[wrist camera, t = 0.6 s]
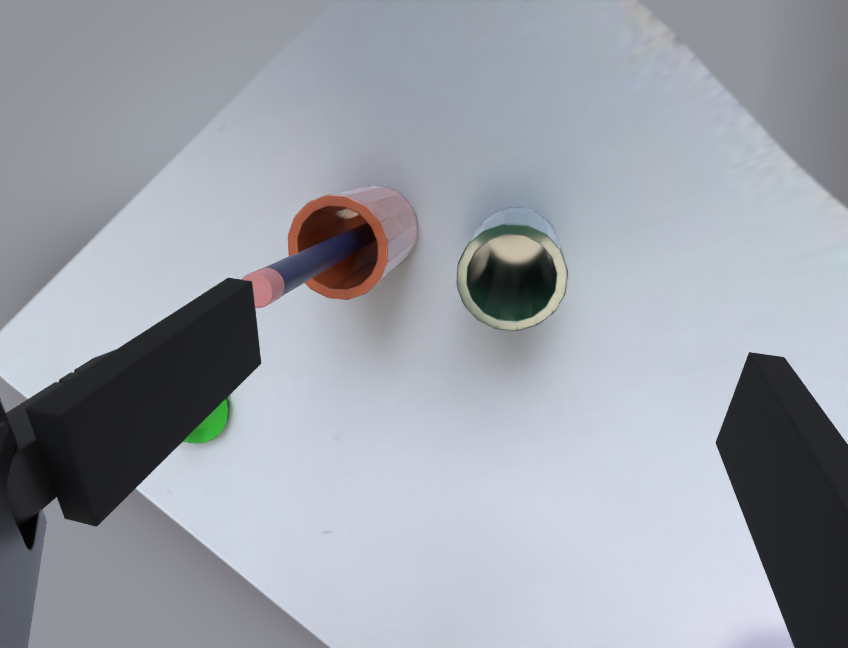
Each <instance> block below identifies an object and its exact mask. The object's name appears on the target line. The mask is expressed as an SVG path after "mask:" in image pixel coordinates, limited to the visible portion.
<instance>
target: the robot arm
mask: <svg viewBox="0 0 848 648" xmlns="http://www.w3.org/2000/svg"><path fill="white" fill-rule="evenodd" d="M260 364H261V357H260V348H259V339H258V329H257V320H256V311H255V302H254V293H253V284H252V281H247V280H240V279H233V278H227V279H225V280H224V281H222V282H221V283H219V284H218V285H216V286H215V287H213V288H211V289H210V290H208V291H207V292H205V293H204V294H202V295H201V296H199V297H197V298H196V299H194V300H193V301H191V302H190V303H188V304H187V305H185V306H183V307H182V308H180V309H179V310H177V311H176V312H174V313H173V314H171V315H169V316H168V317H166V318H165V319H163V320H162V321H160V322H159V323H157V324H155V325H154V326H152V327H151V328H149V329H148V330H146V331H145V332H143V333H141V334H140V335H138V336H137V337H135V338H134V339H132V340H131V341H129V342H127V343H126V344H124V345H123V346H121V347H120V348H118V349H116V350H114V351H111V352H108V353H106V354H103V355H101V356H98V357H95V358H93V359H91V360H90V361H88V362H86V363H85V364H83V365H82V366H80V367H79V368H77V369H75V370H74V373H69V374H67V375H66V376H64V377H63V378H61V379H59V382H58V383H57V382H55V383H53V384H52V385H50V386H48V387H47V388H45V389H44V390H42V391H40V392H39V393H37V394H36V395H34V396H32V397H31V398H29V399H28V400H26V401H25V402H23V403H21V404H20V405H18V406H17V407H15V408H14V409H12V410H10V411H9V412H7V413H6V412H5V410H4V407H3V404H2V402H1V399H0V648H28V641H29V634H30V628H31V621H32V615H33V608H34V601H35V595H36V588H37V582H38V575H39V569H40V561H41V556H42V548H43V542H44V536H45V529H46V518H45V514H44V512H43V508H44V507H45V506H47V505H48V504H49V503H50V502H51V501H52V500H54V499H55V498H56V497H57V498H58V501H59V504H60V507H61V509H62V512H63V515H64V518H65V519H69V520H73V521H77V522H81V523H84V524H88V525H93V526H98V525H99V524H100V523H101V522H102V521H103V520H104V519H105V518H106V517H107V516H108V515H109V514H110V513H111V512H112V511H113V510H114V509H115V508H116V507H117V506H118V505H119V504H120V503H121V502H122V501H123V500H124V499H125V498H126V497H127V496H128V495H129V494H130V493H131V492H132V491H133V490H134V489H135V488H136V487H137V486H138V485H139V484H140V483H141V482H142V481H143V480H144V479H145V478H146V477H147V476H148V475H149V474H150V473H151V472H152V471H153V470H154V469H155V468H156V467H157V466H158V465H159V464H160V463H161V462H162V461H163V460H164V459H165V458H166V457H167V456H168V455H169V454H170V453H171V452H172V451H173V450H175V449H176V448H177V447H178V446H179V445H180V444H181V443H182V442H183V441H184V440H185V439H186V438H187V437H188V436H189V435H190V434H191V433H192V432H193V431H194V430H195V429H196V428H197V427H198V426H199V425H200V424H201V423H202V422H203V421H204V420H205V419H206V418H207V417H208V416H209V415H210V414H211V413H212V412H213V411H214V410H215V409H216V408H217V407H218V406H219V405H220V404H221V403H222V402H223V401H224V400H225V399H226V398H227V397H228V396H229V395H230V394H231V393H232V392H233V391H234V390H235V389H236V388H237V387H238V386H239V385H240V384H241V383H242V382H243V381H244V380H245V379H246V378H247V377H248V376H249V375H250V374H251V373H252V372H253V371H254V370H255V369H256V368H257V367H258V366H259V365H260ZM716 445H717V448H718V450H719V453H720V455H721V458H722V461H723V463H724V466H725V468H726V471H727V474H728V476H729V479H730V481H731V484H732V487H733V489H734V492H735V494H736V497H737V500H738V502H739V505H740V507H741V510H742V512H743V515H744V518H745V520H746V523H747V525H748V528H749V531H750V533H751V536H752V538H753V541H754V544H755V546H756V549H757V551H758V554H759V557H760V559H761V562H762V564H763V567H764V569H765V572H766V575H767V577H768V580H769V582H770V585H771V588H772V590H773V593H774V595H775V598H776V601H777V603H778V606H779V608H780V611H781V614H782V616H783V619H784V621H785V624H786V626H787V629H788V632H789V634H790V637H791V639H792V642H793V645H794V647H795V648H848V444H847V443H846V441H845V440H844V439H843V437H842V436H841V435H840V433H839V432H838V430H837V429H836V428H835V426H834V425H833V424H832V422H831V421H830V419H829V418H828V417H827V415H826V414H825V413H824V411H823V410H822V408H821V407H820V406H819V404H818V403H817V402H816V400H815V399H814V397H813V396H812V395H811V393H810V392H809V391H808V389H807V388H806V386H805V385H804V384H803V382H802V381H801V380H800V378H799V377H798V375H797V374H796V373H795V371H794V370H793V369H792V367H791V366H790V364H789V363H788V362H787V360H786V359H785V358H784V357H779V356H772V355H765V354H758V353H751V352H749V354H748V357H747V360H746V362H745V365H744V368H743V370H742V373H741V376H740V378H739V381H738V384H737V386H736V389H735V392H734V395H733V397H732V400H731V403H730V405H729V408H728V411H727V413H726V416H725V419H724V422H723V424H722V427H721V430H720V432H719V435H718V438H717V440H716Z"/></svg>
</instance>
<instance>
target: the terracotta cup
mask: <svg viewBox="0 0 848 648" xmlns="http://www.w3.org/2000/svg"><path fill="white" fill-rule="evenodd" d="M366 222H367V223H368V224H369V225H370V226H371V227H372V230H373V232H374V235H375V237H376V241H374V242H372V243H371V244H369V245H367V246H366V247H364V248H362V249H360V250H359V251H357V252H355V253H354V254H352V255H350V256H349V257H347V258H345V259H344V260H342V261H340V262H338V263H337V264H335V265H333V266H332V267H330V268H328V269H327V270H325V271H323V272H322V273H320V274H318V275H317V276H315V277H313V278H311V279H310V280H308V281H306V282H305V284H306V285H307V286H308V287H309V288H310V289H311V290H313V291H315V292H317V293H319V294H321V295H323V296H325V297H327V298H332V299H344V300H348V299H352V298H355V297H358V296H361V295H364V294H366V293H367V292H368V291H370V290H371V289H372V288H373V287H374V286H375V285H376V284H377V283H379V282H380V281H381V280H382V279H383V278H384V277H385V276H386V275H388V274H389V273H390V272H391V271H392V270H393V269H394V268H396V267H397V266H398V265H399V264H400V263H401V262H402V261H403V260H404V259H405V258H407V257H408V256H409V254H410V253H411V251H412V250H413V248H414V246H415V243H416V240H417V236H418V223H417V218H416V215H415V212H414V210H413V208H412V206H411V205H410V203H409V202H408V201H407V200H406V199H405V198H404V197H403V196H402V195H401V194H400V193H398V192H397V191H395V190H393V189H390V188H388V187H384V186H366V187H361V188H356V189H352V190H347V191H343V192H338V193H334V194H329V195H325V196H322V197H320V198H317V199H315V200H312V201H310V202H308V203H307V204H306V205H305V206H304V207H303V208H302V209H301V210H300V211H299V212H298V213H297V214H296V215H295V217H294V219H293V222H292V225H291V228H290V231H289V234H288V235H289V236H288V249H289V257H290V256H292V255H294V254H296V253H299V252H301V251H303V250H305V249H308V248H310V247H312V246H314V245H317V244H319V243H321V242H323V241H326V240H328V239H330V238H332V237H335V236H337V235H339V234H341V233H344V232H346V231H348V230H350V229H353V228H355V227H357V226H359V225H362V224H364V223H366Z"/></svg>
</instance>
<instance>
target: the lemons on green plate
mask: <svg viewBox="0 0 848 648" xmlns="http://www.w3.org/2000/svg"><path fill="white" fill-rule="evenodd" d="M227 416H228V407H227V401H226V399H225V400H224V401H223V402H222V403H221V404H220V405H219V406H218V407H217V408H216V409H215V410H214V411H213V412H212V413H211V414H210V415H209V416H208V417H207V418H206V419H205V420H204V421H203V422H202V423H201V424H200V425H199V426H198V427H197V428H196V429H195V430H194V431H193V432H192V433H191V434H190V435H189V436H188V437H187V438H186V439H185V440H184V442H188V443H204V442H207V441H210V440H212V439H213V438H215V437H217V436H218V435H219V434H220V433H221V432H222V430H223V428H224V426H225V424H226V421H227Z"/></svg>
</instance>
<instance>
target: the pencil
mask: <svg viewBox="0 0 848 648" xmlns="http://www.w3.org/2000/svg"><path fill="white" fill-rule="evenodd" d="M374 241H376V237H375V235H374V232H373V230H372V227H371V226H370V225H369V224H368V223H367V222H366V223H364V224H362V225H359V226H357V227H355V228H353V229H350V230H348V231H346V232H344V233H341V234H339V235H337V236H335V237H332V238H330V239H328V240H326V241H323V242H321V243H319V244H317V245H314V246H312V247H310V248H308V249H305V250H303V251H301V252H299V253H296V254H294V255H292V256H290V257H287V258H285V259H283V260H281V261H278V262H276V263H274V264H272V265H269V266H267V267H265V268H261V269H259V270H257V271H255V272H252V273H250V274H248V275H246V276H245V277H244V278H243V279H242V280H247V281H252V284H253V293H254V302H255V307H257V308H262V307H265V306H267V305H268V304H270V303H272V302H274V301H275V300H277V299H279V298H280V297H281V296H283V295H284V294H286V293H288V292H289V291H291V290H293V289H295V288H296V287H298V286H300V285H301V284H303V283H305V282H306V281H308V280H310V279H311V278H313V277H315V276H317V275H318V274H320V273H322V272H323V271H325V270H327V269H328V268H330V267H332V266H333V265H335V264H337V263H338V262H340V261H342V260H344V259H345V258H347V257H349V256H350V255H352V254H354V253H355V252H357V251H359V250H360V249H362V248H364V247H366V246H367V245H369V244H371V243H372V242H374Z"/></svg>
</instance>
